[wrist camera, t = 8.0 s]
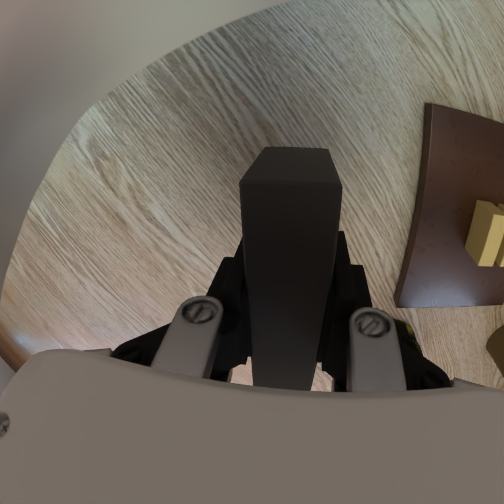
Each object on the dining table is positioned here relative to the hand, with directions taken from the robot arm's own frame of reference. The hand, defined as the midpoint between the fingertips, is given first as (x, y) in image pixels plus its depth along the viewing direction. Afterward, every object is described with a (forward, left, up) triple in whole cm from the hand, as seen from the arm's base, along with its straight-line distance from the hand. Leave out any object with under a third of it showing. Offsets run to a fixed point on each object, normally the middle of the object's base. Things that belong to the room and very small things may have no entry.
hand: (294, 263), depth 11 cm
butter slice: (+3, +17, -12) cm, 22 cm away
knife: (+5, 0, 0) cm, 5 cm away
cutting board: (+3, +18, -14) cm, 23 cm away
